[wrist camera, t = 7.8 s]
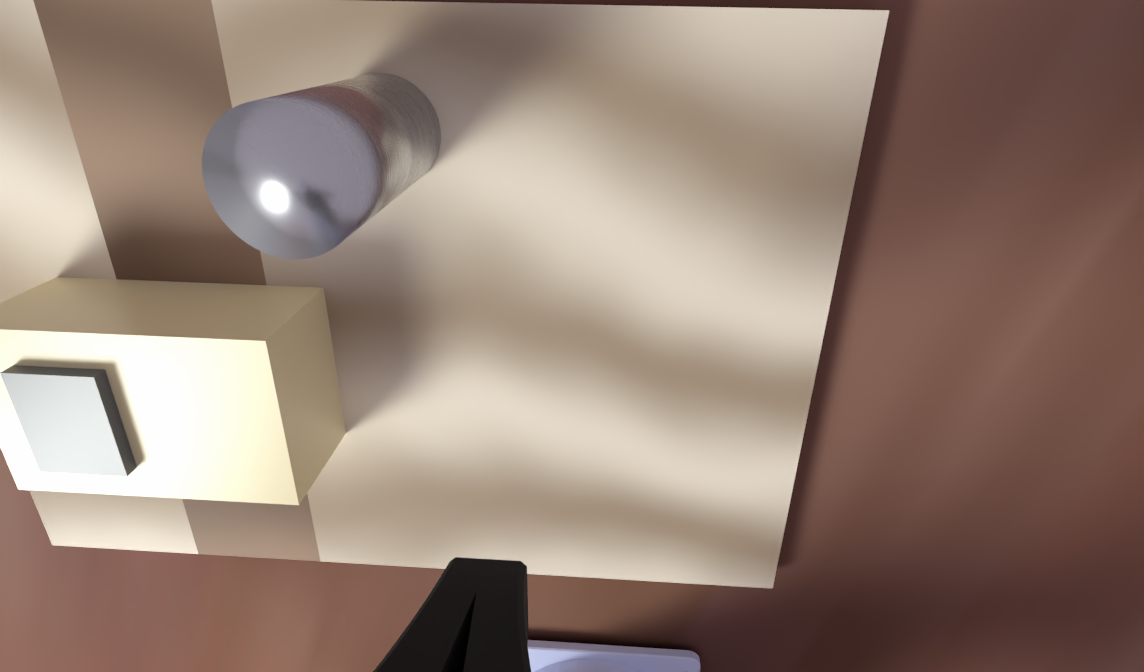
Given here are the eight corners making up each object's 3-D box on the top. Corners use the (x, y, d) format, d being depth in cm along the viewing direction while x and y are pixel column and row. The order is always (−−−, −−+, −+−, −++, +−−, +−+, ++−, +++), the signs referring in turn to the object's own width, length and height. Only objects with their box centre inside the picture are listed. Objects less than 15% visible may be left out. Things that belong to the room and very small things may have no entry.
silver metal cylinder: (444, 187, 18) (368, 262, 12) (340, 184, 18) (220, 256, 12) (436, 74, 16) (348, 102, 11) (326, 71, 17) (185, 98, 11)
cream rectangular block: (346, 432, 21) (292, 515, 18) (105, 420, 22) (6, 499, 18) (323, 287, 19) (257, 348, 16) (56, 277, 20) (-67, 333, 16)
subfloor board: (767, 571, 24) (772, 588, 23) (68, 529, 25) (52, 545, 24) (877, 10, 16) (889, 9, 15) (-148, -9, 17) (-182, -10, 16)
